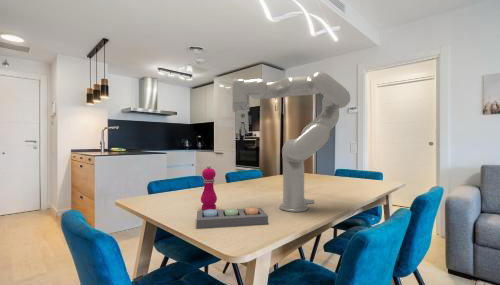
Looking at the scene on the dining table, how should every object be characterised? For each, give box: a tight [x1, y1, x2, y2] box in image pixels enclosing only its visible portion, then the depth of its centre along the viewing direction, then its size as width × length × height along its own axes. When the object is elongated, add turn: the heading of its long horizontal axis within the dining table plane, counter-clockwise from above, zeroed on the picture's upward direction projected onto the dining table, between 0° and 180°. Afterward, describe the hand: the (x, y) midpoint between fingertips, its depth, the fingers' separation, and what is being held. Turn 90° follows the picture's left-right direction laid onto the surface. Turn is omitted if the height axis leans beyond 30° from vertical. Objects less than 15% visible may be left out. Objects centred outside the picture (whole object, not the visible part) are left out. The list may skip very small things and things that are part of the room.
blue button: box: [203, 209, 218, 217], centre depth 97 cm, size 5×5×3 cm
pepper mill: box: [200, 164, 218, 211], centre depth 116 cm, size 7×7×20 cm
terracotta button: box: [244, 206, 259, 215], centre depth 100 cm, size 5×5×3 cm
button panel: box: [196, 207, 269, 230], centre depth 99 cm, size 26×12×3 cm, turn 101°
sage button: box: [224, 207, 239, 216], centre depth 99 cm, size 5×5×3 cm
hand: (240, 149), depth 114 cm, fingers closed
